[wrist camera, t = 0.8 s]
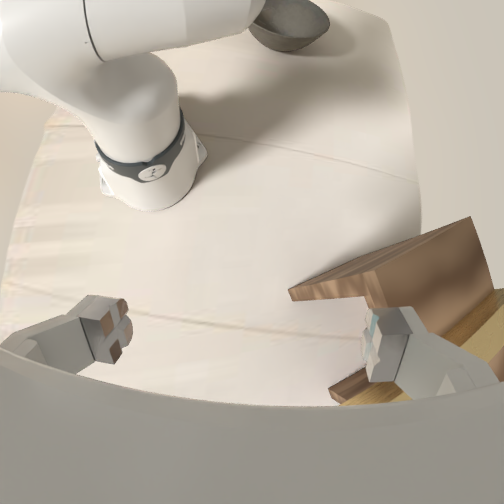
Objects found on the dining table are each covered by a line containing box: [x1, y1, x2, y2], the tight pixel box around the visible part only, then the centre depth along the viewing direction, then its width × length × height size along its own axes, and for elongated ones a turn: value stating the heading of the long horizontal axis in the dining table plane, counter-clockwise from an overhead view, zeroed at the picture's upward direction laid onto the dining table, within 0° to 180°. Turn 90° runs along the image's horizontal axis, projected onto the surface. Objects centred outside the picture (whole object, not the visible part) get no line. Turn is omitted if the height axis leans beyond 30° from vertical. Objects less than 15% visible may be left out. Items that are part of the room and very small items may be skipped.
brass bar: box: [339, 288, 504, 406], centre depth 20 cm, size 4×23×4 cm, turn 113°
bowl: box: [248, 0, 330, 51], centre depth 52 cm, size 19×19×10 cm
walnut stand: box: [288, 216, 504, 404], centre depth 35 cm, size 20×14×26 cm
